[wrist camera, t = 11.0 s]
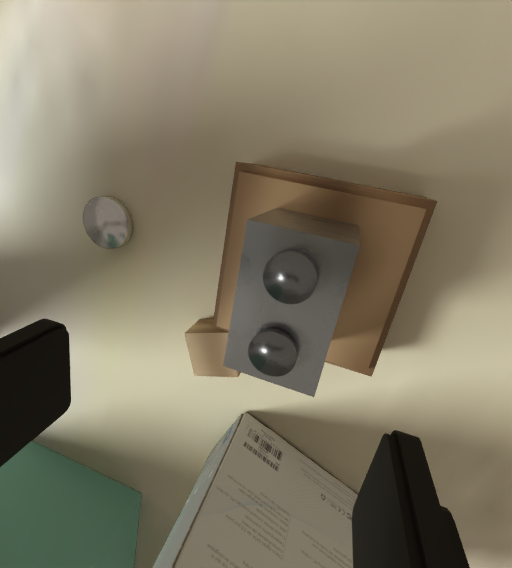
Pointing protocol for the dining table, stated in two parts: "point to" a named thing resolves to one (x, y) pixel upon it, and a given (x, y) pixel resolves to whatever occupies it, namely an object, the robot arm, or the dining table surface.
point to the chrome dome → (108, 222)
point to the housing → (289, 296)
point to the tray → (369, 262)
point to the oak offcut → (208, 349)
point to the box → (64, 514)
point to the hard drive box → (261, 508)
